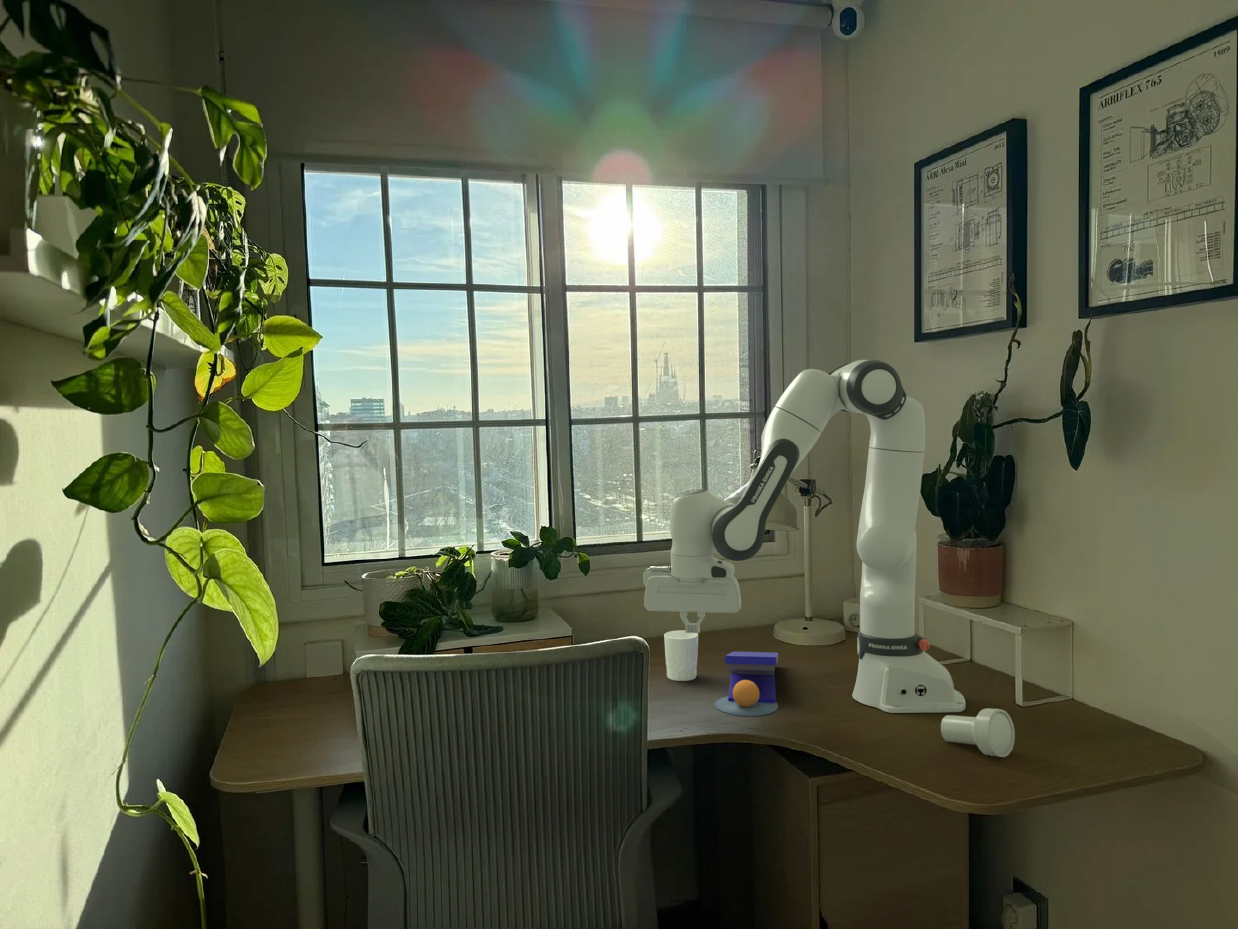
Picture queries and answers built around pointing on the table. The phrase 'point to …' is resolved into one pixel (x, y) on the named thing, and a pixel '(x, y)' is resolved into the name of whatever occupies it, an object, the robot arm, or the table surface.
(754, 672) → the stapler
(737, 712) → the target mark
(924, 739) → the table surface
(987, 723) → the spotlight
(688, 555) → the robot arm
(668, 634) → the white cup
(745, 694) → the ball
